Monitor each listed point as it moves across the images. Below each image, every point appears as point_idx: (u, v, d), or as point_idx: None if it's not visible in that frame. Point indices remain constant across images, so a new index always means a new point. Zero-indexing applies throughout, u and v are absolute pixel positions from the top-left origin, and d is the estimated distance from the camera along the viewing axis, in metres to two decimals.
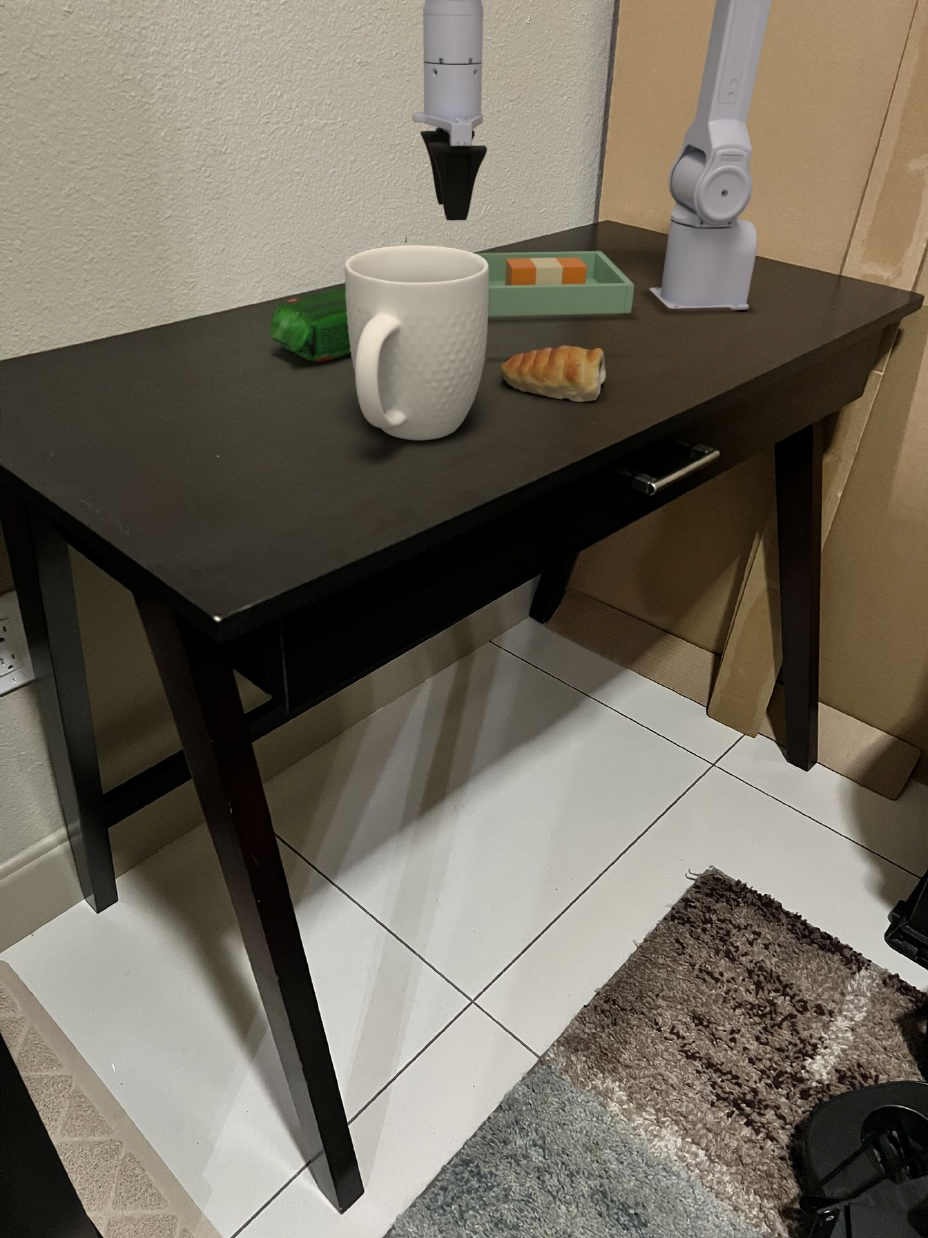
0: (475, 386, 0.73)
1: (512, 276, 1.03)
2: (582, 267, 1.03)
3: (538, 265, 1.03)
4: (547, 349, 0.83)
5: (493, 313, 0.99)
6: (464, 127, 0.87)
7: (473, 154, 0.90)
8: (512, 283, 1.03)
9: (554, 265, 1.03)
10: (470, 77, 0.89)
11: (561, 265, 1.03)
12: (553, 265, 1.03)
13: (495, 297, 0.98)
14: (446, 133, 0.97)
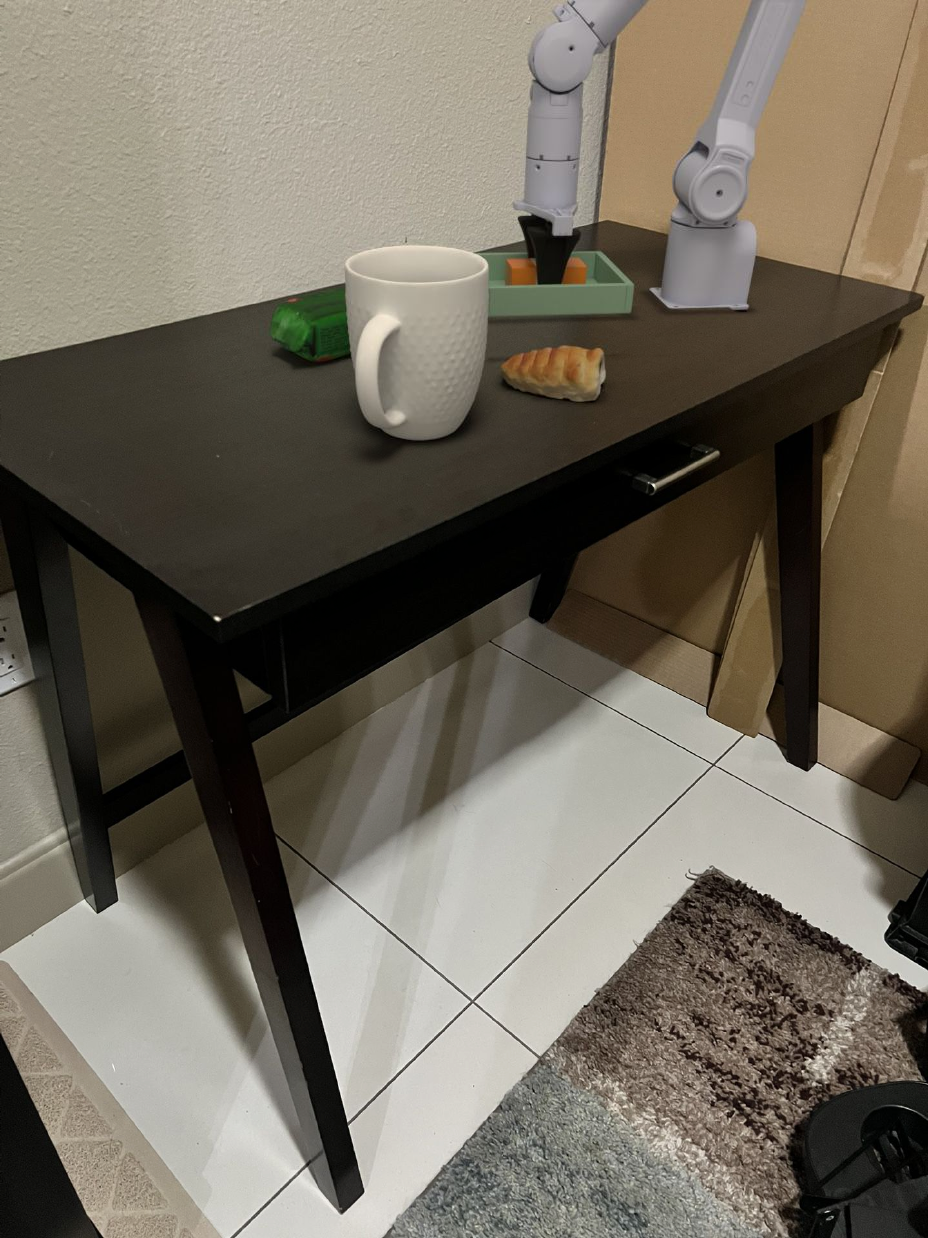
0: (475, 386, 0.73)
1: (512, 276, 1.03)
2: (582, 267, 1.03)
3: None
4: (547, 349, 0.83)
5: (493, 313, 0.99)
6: (566, 219, 0.95)
7: (569, 238, 0.99)
8: (512, 283, 1.03)
9: None
10: (569, 171, 0.97)
11: None
12: None
13: (495, 297, 0.98)
14: (543, 219, 1.03)
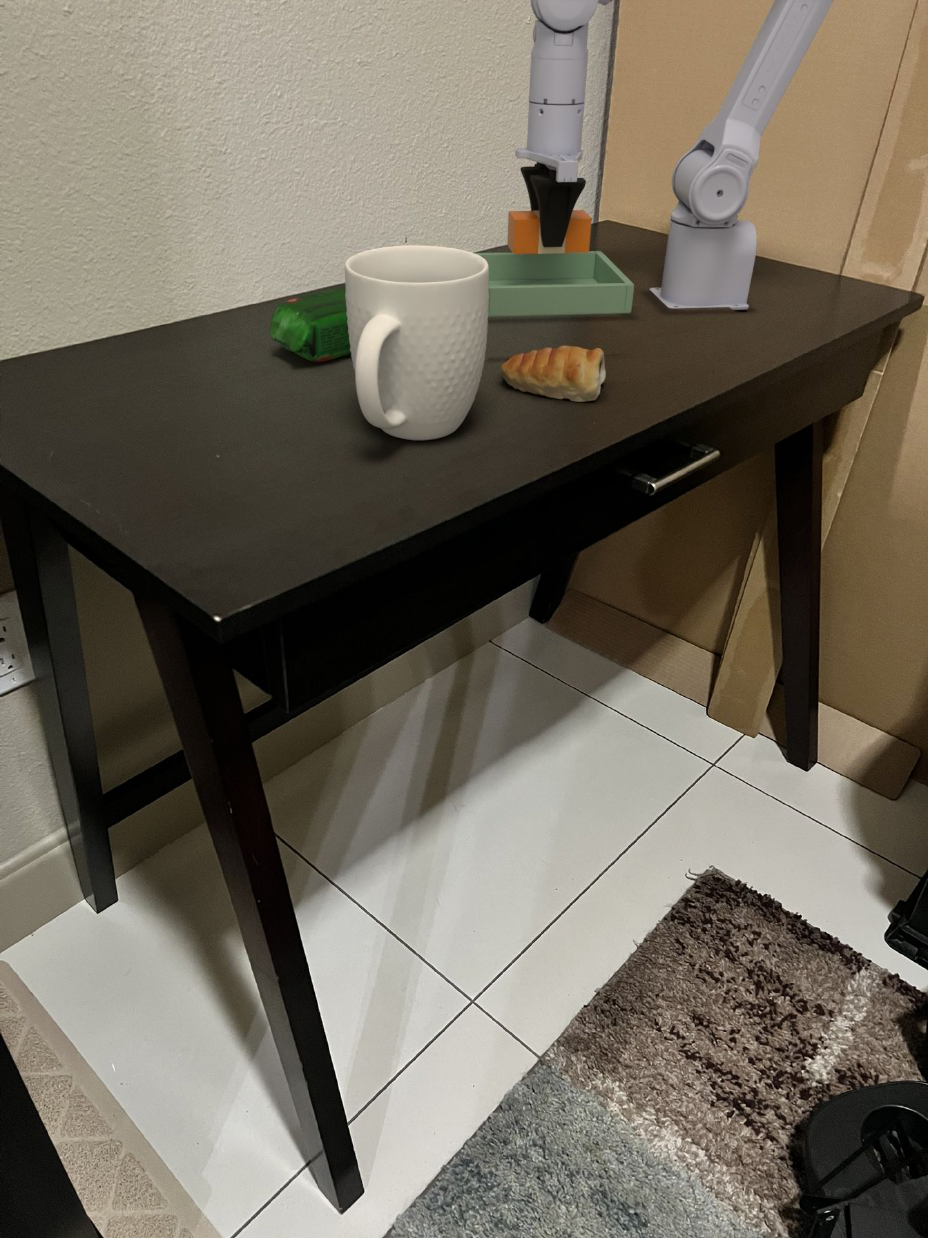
0: (475, 386, 0.73)
1: (515, 228, 0.99)
2: (587, 218, 1.00)
3: None
4: (547, 349, 0.83)
5: (493, 313, 0.99)
6: (571, 164, 0.92)
7: (573, 186, 0.95)
8: (515, 235, 1.00)
9: None
10: (574, 116, 0.94)
11: None
12: None
13: (495, 297, 0.98)
14: (546, 169, 1.00)
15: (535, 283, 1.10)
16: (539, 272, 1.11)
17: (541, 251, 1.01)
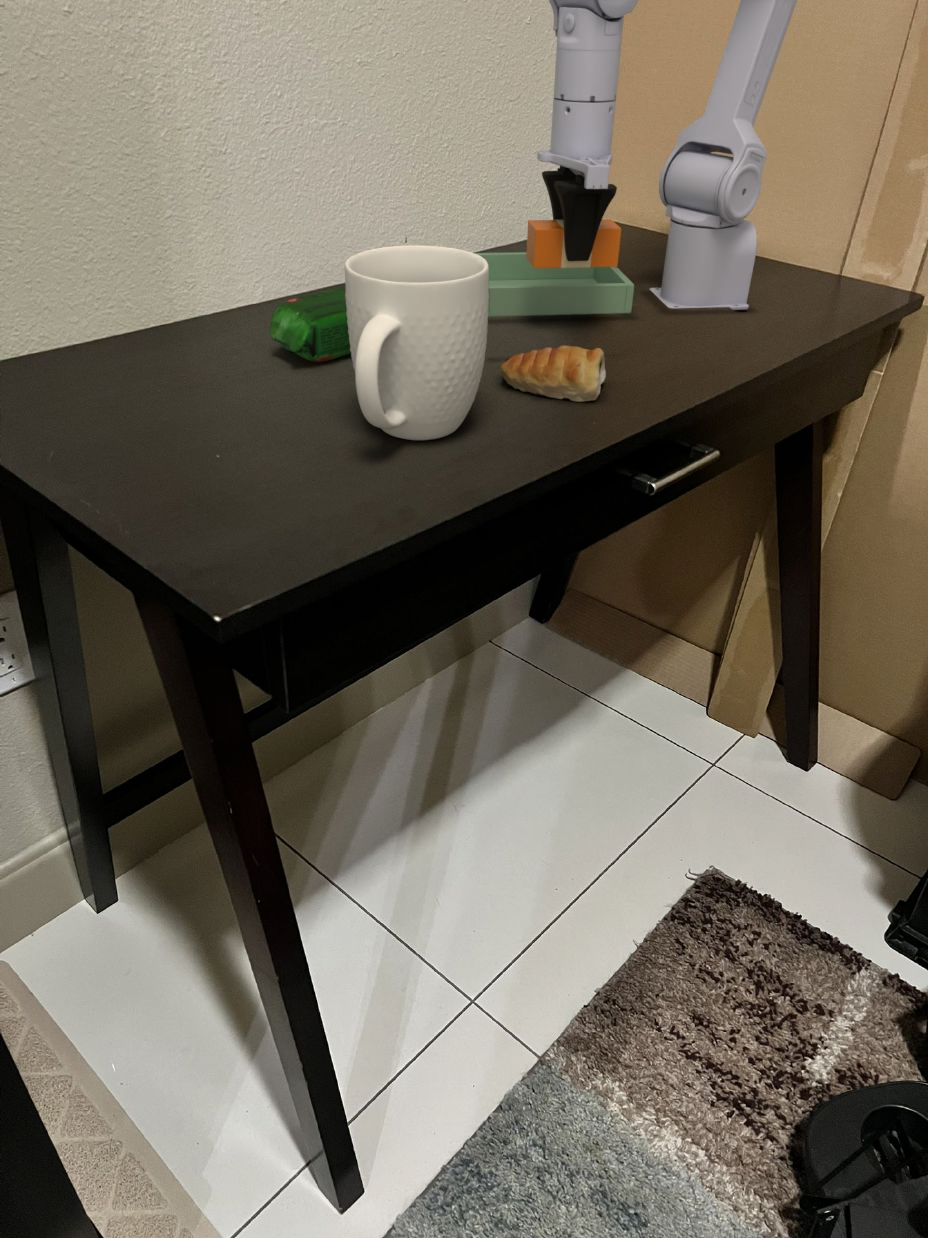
0: (475, 386, 0.73)
1: (536, 239, 0.89)
2: (616, 229, 0.90)
3: None
4: (547, 349, 0.83)
5: (493, 313, 0.99)
6: (601, 169, 0.81)
7: (603, 194, 0.85)
8: (535, 247, 0.90)
9: None
10: (604, 115, 0.83)
11: None
12: None
13: (495, 297, 0.98)
14: (571, 174, 0.90)
15: (535, 283, 1.10)
16: (539, 272, 1.11)
17: (564, 265, 0.91)
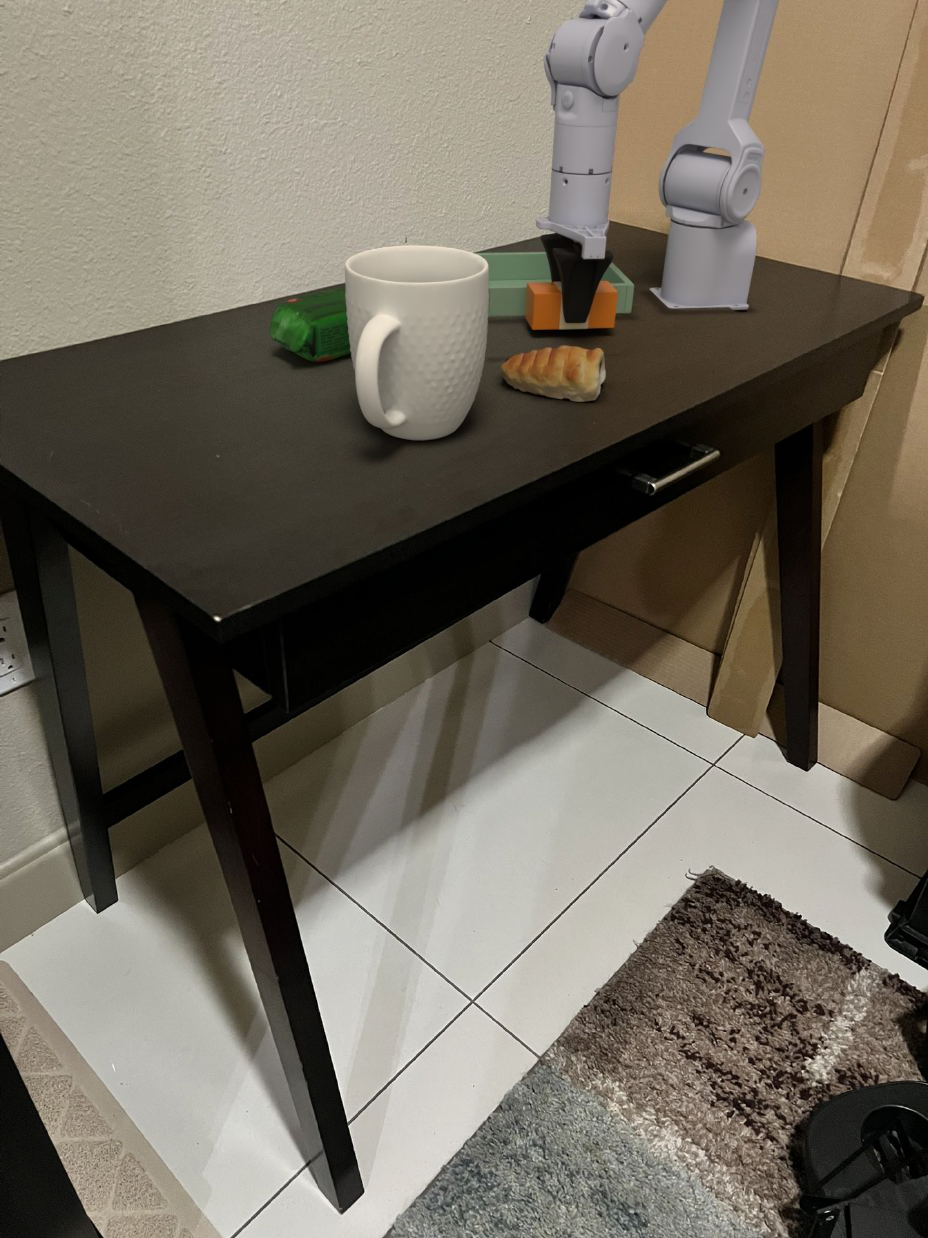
0: (475, 386, 0.73)
1: (534, 303, 0.92)
2: (613, 292, 0.92)
3: None
4: (547, 349, 0.83)
5: (493, 313, 0.99)
6: (598, 241, 0.84)
7: (600, 261, 0.88)
8: (534, 310, 0.92)
9: None
10: (601, 186, 0.86)
11: None
12: None
13: (495, 297, 0.98)
14: (569, 239, 0.92)
15: None
16: (539, 272, 1.11)
17: (562, 327, 0.93)
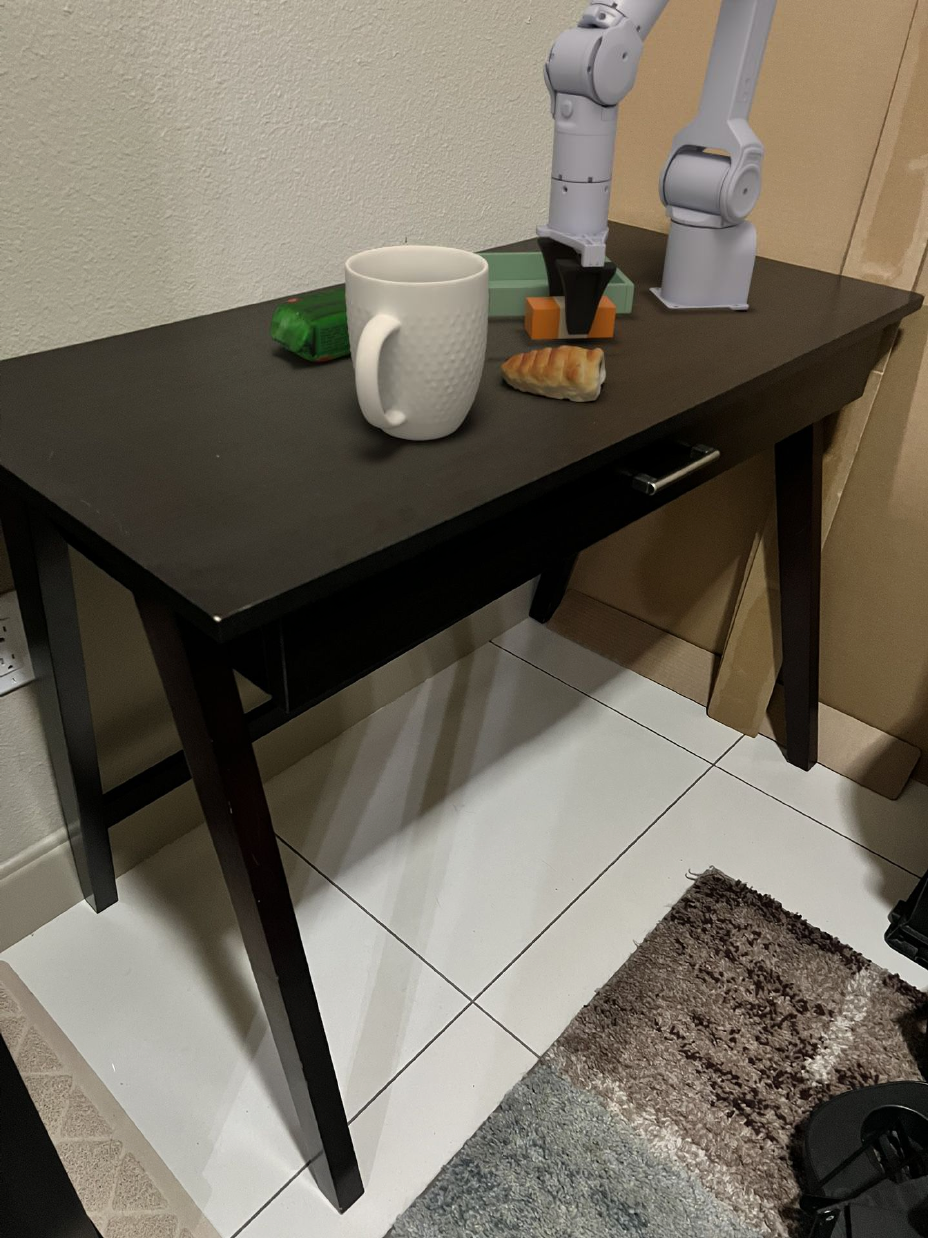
0: (475, 386, 0.73)
1: (533, 318, 0.92)
2: (611, 308, 0.93)
3: (562, 305, 0.93)
4: (547, 349, 0.83)
5: (493, 313, 0.99)
6: (598, 249, 0.84)
7: (603, 273, 0.87)
8: (533, 325, 0.93)
9: None
10: (601, 194, 0.86)
11: None
12: None
13: (495, 297, 0.98)
14: None
15: (535, 283, 1.10)
16: (539, 272, 1.11)
17: None
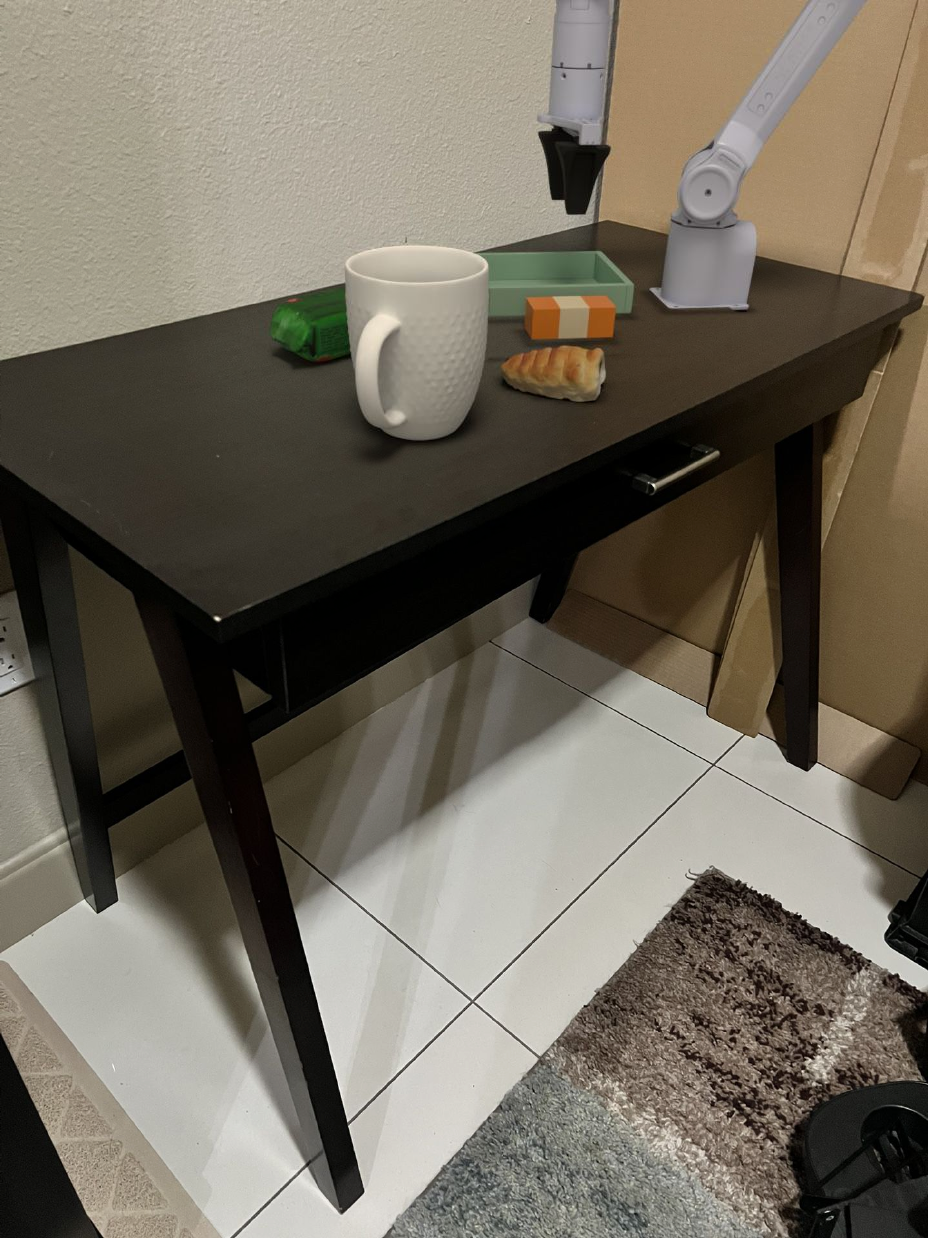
0: (475, 386, 0.73)
1: (533, 318, 0.92)
2: (611, 308, 0.93)
3: (562, 305, 0.93)
4: (547, 349, 0.83)
5: (493, 313, 0.99)
6: (594, 127, 0.93)
7: (598, 152, 0.96)
8: (533, 325, 0.93)
9: (580, 305, 0.93)
10: (596, 80, 0.95)
11: (587, 305, 0.93)
12: (579, 305, 0.93)
13: (495, 297, 0.98)
14: (563, 133, 1.03)
15: (535, 283, 1.10)
16: (539, 272, 1.11)
17: None
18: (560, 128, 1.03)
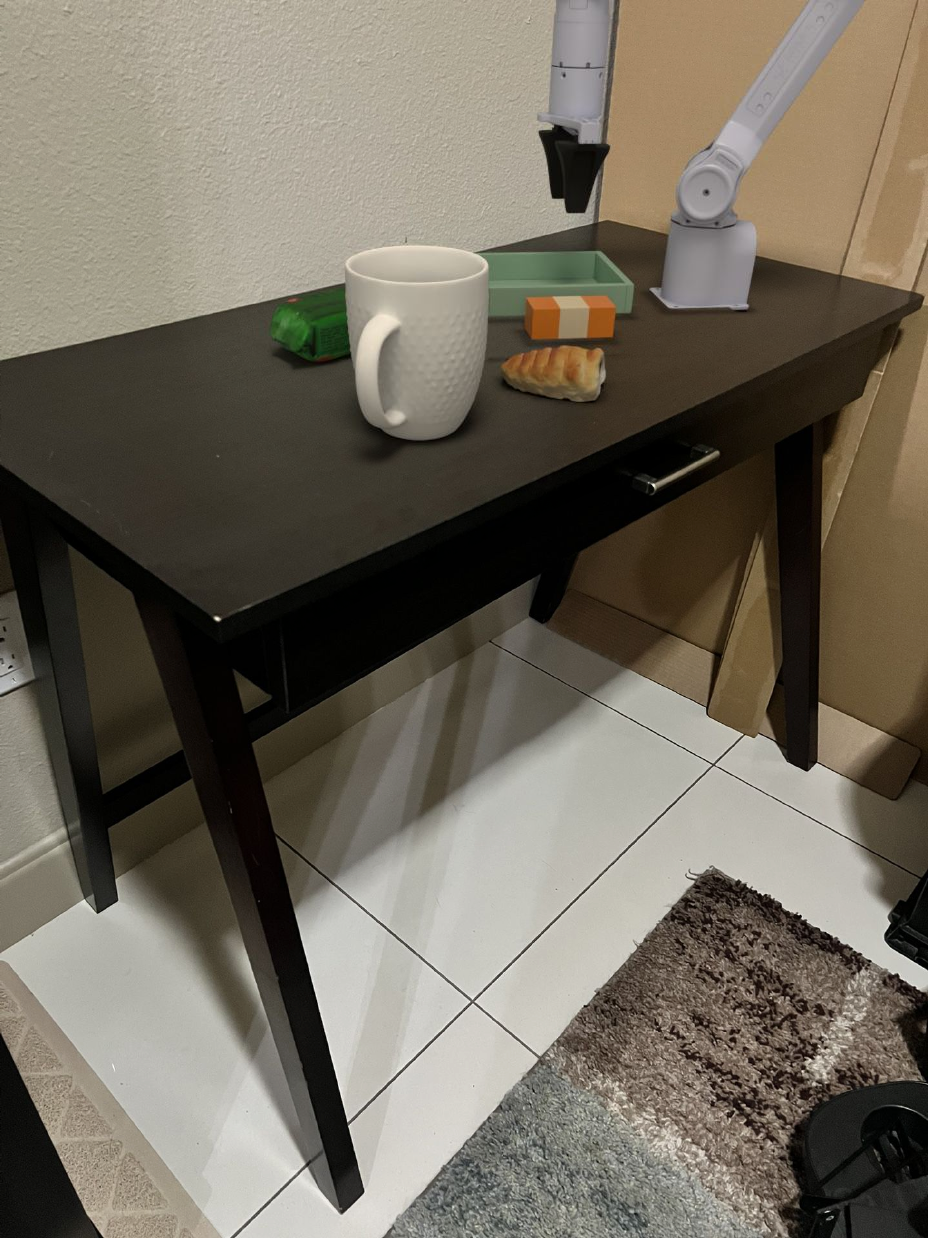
0: (475, 386, 0.73)
1: (533, 318, 0.92)
2: (611, 308, 0.93)
3: (562, 305, 0.93)
4: (547, 349, 0.83)
5: (493, 313, 0.99)
6: (593, 126, 0.94)
7: (598, 151, 0.96)
8: (533, 325, 0.93)
9: (580, 305, 0.93)
10: (595, 80, 0.96)
11: (587, 305, 0.93)
12: (579, 305, 0.93)
13: (495, 297, 0.98)
14: (564, 132, 1.04)
15: (535, 283, 1.10)
16: (539, 272, 1.11)
17: None
18: (560, 127, 1.04)
